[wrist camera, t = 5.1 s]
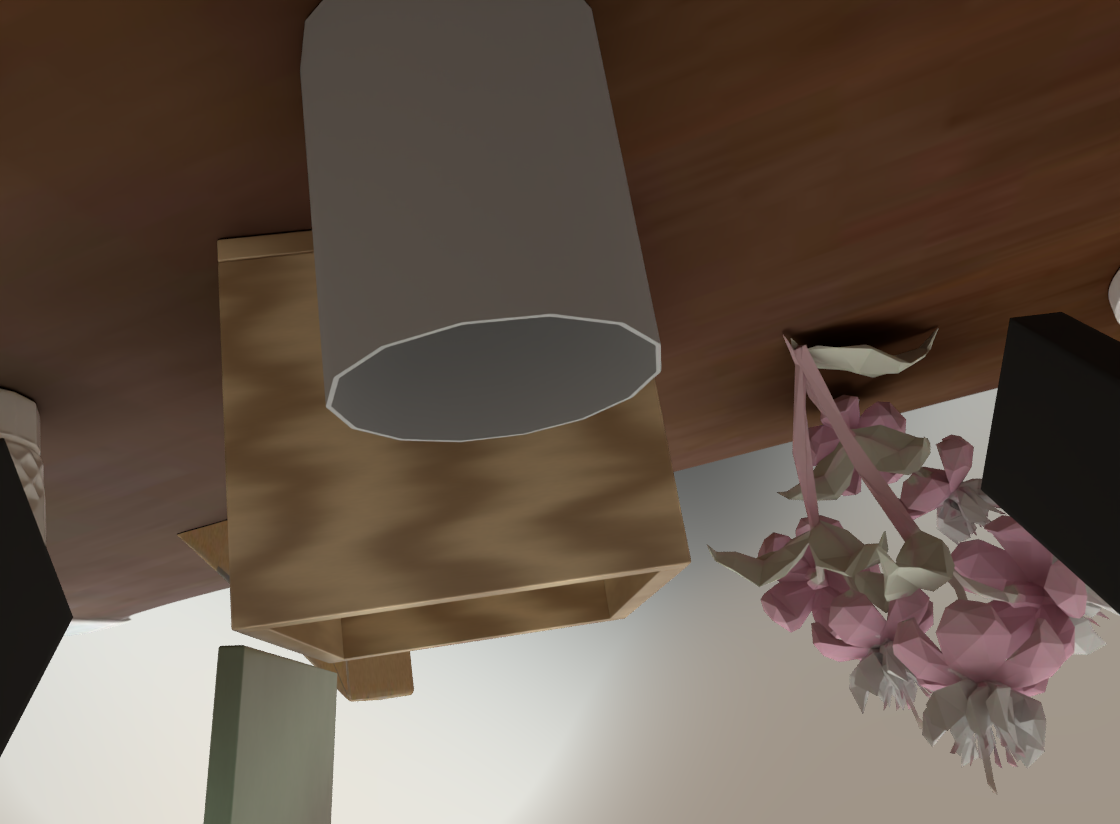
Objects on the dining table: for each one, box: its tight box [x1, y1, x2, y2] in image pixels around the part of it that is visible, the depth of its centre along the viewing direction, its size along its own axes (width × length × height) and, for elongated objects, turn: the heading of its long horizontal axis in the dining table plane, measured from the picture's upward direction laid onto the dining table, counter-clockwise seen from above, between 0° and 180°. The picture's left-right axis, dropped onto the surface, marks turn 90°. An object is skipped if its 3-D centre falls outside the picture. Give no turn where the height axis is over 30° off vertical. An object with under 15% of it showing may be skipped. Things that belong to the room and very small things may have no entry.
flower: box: [707, 327, 1120, 794], centre depth 55 cm, size 20×22×25 cm
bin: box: [217, 230, 691, 663], centre depth 39 cm, size 15×17×14 cm
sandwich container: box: [177, 520, 414, 701], centre depth 70 cm, size 9×15×15 cm, turn 113°
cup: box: [300, 0, 661, 442], centre depth 24 cm, size 8×8×10 cm
